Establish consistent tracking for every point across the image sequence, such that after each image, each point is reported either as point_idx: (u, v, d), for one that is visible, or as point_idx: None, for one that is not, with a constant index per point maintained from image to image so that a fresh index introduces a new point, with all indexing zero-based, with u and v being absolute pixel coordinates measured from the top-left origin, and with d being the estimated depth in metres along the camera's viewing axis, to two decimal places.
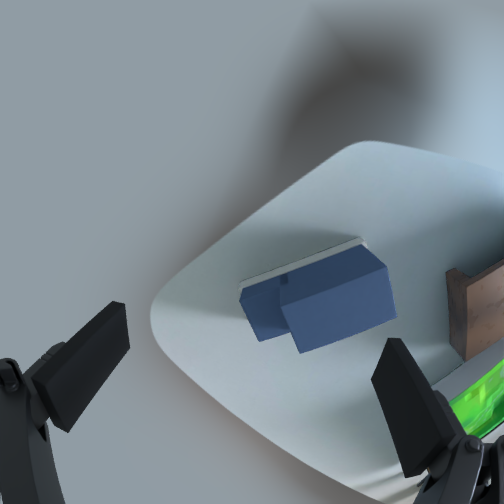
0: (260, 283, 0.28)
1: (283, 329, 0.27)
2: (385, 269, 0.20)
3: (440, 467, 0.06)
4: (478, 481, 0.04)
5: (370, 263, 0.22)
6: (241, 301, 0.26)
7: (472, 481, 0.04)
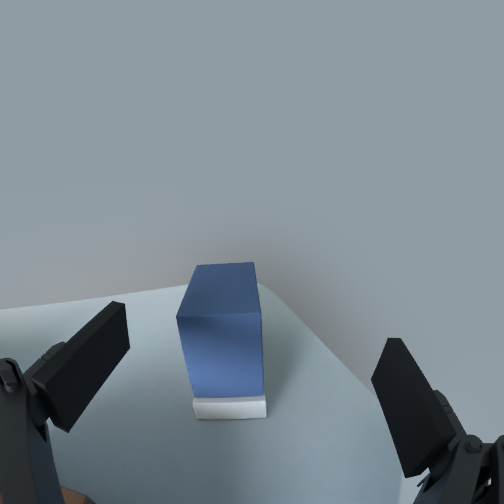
0: None
1: None
2: (256, 310, 0.16)
3: (440, 467, 0.06)
4: (478, 481, 0.04)
5: None
6: None
7: (472, 481, 0.04)
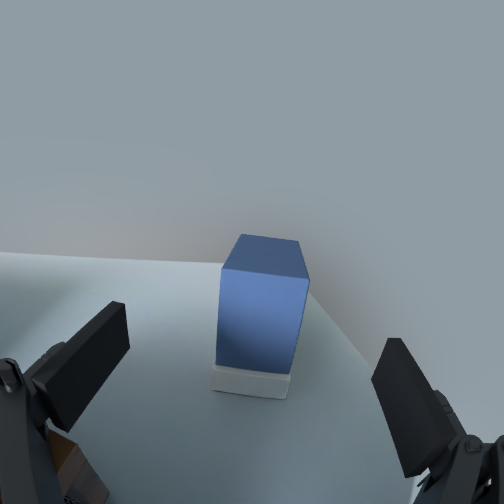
0: None
1: None
2: (305, 277, 0.16)
3: (440, 467, 0.06)
4: (478, 481, 0.04)
5: None
6: None
7: (472, 481, 0.04)
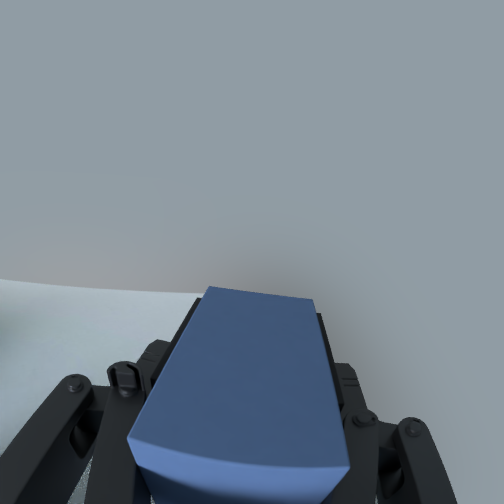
0: None
1: None
2: (341, 461, 0.05)
3: None
4: (383, 465, 0.07)
5: None
6: None
7: (372, 458, 0.06)
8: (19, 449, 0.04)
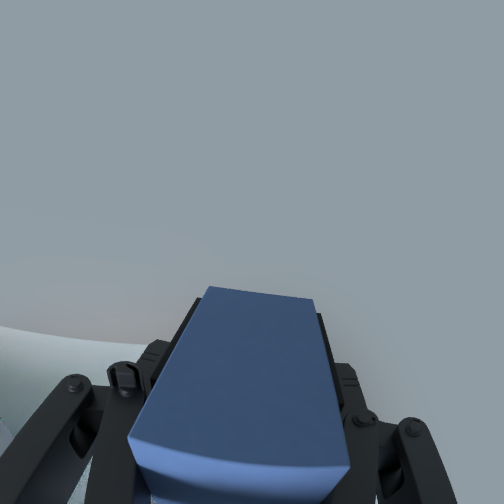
0: None
1: None
2: (341, 461, 0.05)
3: None
4: (383, 465, 0.07)
5: None
6: None
7: (372, 458, 0.06)
8: (19, 449, 0.04)
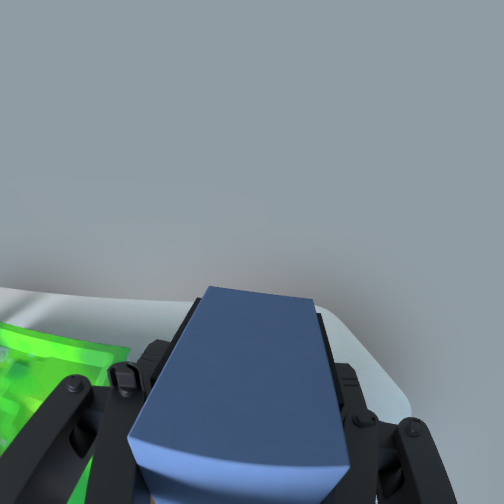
0: None
1: None
2: (341, 461, 0.05)
3: None
4: (383, 465, 0.07)
5: None
6: None
7: (372, 458, 0.06)
8: (19, 449, 0.04)
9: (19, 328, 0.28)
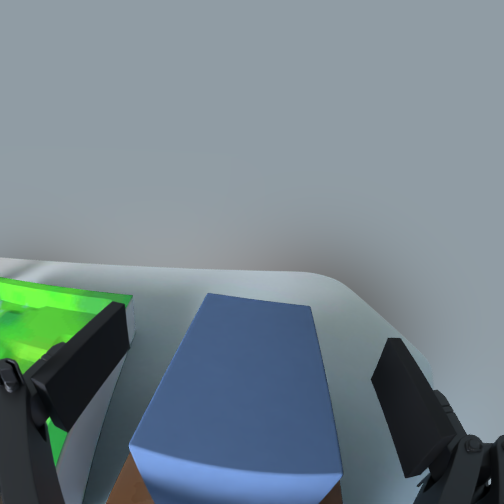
0: None
1: None
2: (334, 468, 0.05)
3: (440, 467, 0.06)
4: (478, 481, 0.04)
5: None
6: None
7: (472, 481, 0.04)
8: None
9: (15, 280, 0.27)
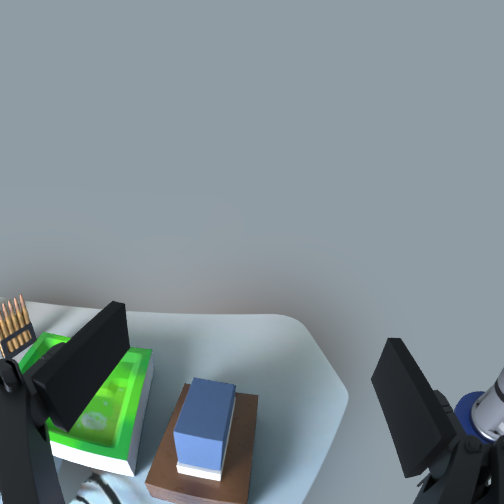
0: (233, 406, 0.35)
1: None
2: (220, 439, 0.22)
3: (440, 467, 0.06)
4: (478, 481, 0.04)
5: (223, 443, 0.24)
6: (234, 386, 0.36)
7: (472, 481, 0.04)
8: None
9: (68, 338, 0.45)
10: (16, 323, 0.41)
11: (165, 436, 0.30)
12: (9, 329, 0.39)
